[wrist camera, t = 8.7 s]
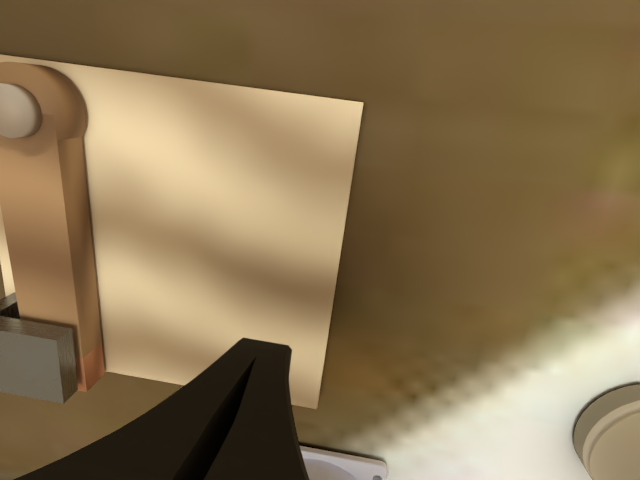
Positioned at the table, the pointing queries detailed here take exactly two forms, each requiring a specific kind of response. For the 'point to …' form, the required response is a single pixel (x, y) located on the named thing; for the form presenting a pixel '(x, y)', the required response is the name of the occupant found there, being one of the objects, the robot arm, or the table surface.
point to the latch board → (211, 219)
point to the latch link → (49, 208)
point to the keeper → (35, 356)
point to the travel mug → (611, 436)
